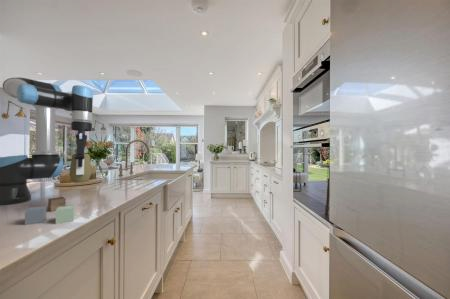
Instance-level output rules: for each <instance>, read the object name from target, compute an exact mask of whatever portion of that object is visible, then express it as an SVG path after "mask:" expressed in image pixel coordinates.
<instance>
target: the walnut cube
mask: <svg viewBox="0 0 450 299" xmlns="http://www.w3.org/2000/svg"><path fill="white" fill-rule="evenodd" d="M47 199H48V200H47V201H48V202H47V210H48V211H49V212H50V211H51V212H50V213H53V211H54V212H56V209H57V208H58V207H63V206H66V203H67V202H66V198H65V197H63V196H59V197H52V198H51V197H50V198H47Z"/></svg>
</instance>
